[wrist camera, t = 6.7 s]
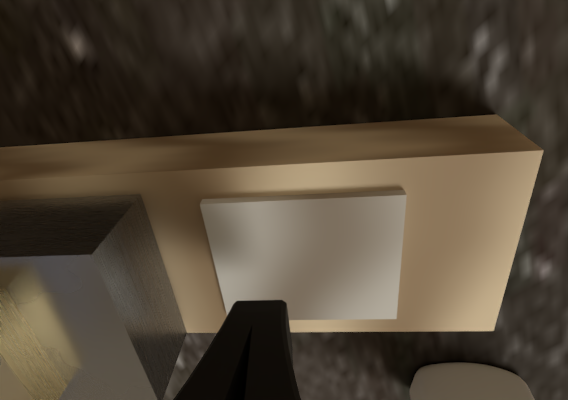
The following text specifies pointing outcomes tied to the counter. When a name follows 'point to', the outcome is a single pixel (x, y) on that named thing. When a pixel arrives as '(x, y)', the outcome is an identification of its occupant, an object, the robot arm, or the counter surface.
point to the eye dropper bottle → (467, 383)
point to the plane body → (317, 216)
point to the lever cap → (84, 301)
